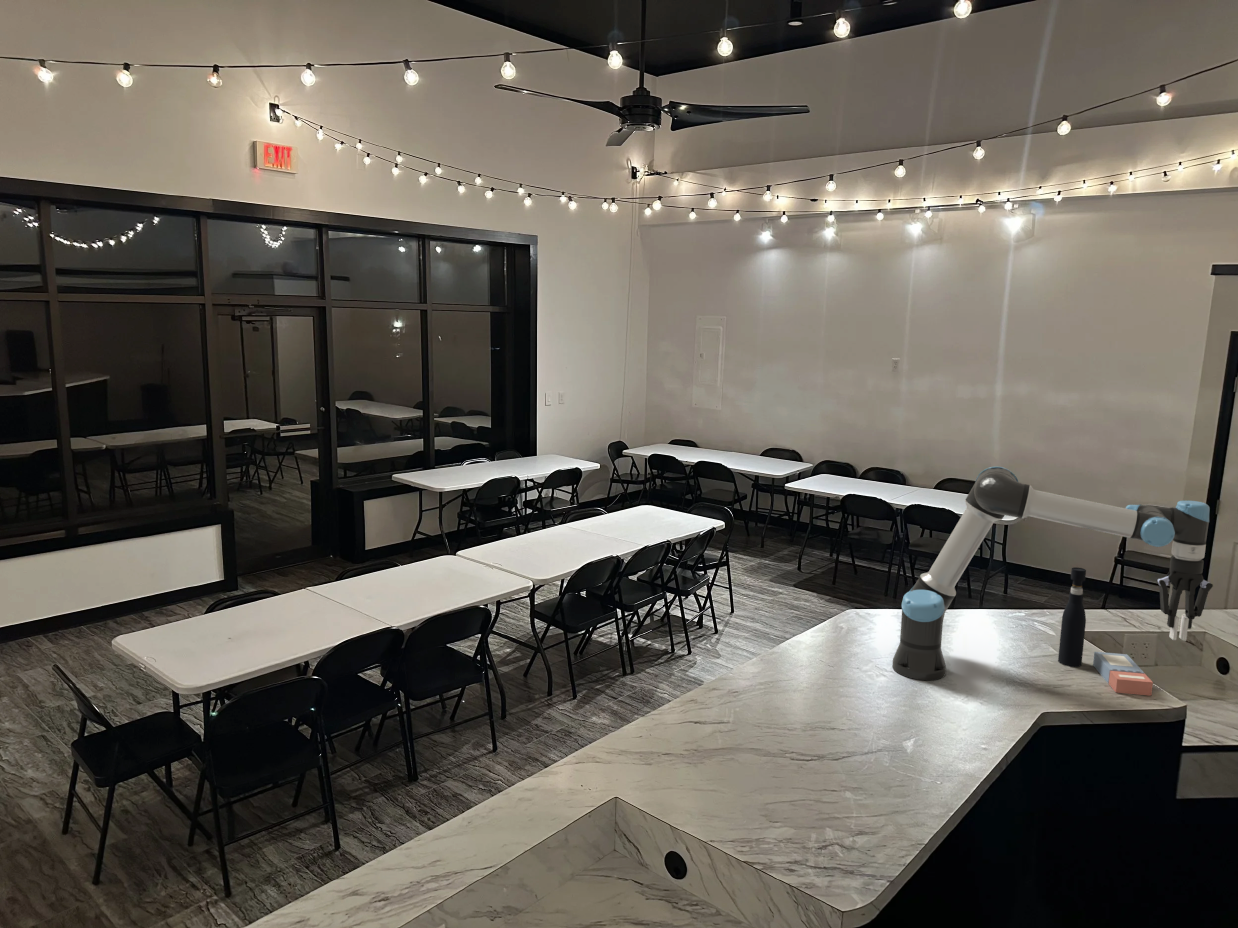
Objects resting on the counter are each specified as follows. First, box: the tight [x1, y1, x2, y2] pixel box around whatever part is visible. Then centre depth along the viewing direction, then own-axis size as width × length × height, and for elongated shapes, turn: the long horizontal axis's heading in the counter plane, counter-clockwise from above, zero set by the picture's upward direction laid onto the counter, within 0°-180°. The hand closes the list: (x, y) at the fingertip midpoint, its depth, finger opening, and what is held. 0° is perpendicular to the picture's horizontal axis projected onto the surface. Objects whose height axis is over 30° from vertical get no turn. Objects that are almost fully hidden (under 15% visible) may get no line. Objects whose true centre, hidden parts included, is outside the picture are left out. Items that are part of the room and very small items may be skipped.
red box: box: [1108, 671, 1154, 697], centre depth 235 cm, size 9×6×4 cm, turn 76°
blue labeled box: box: [1092, 651, 1145, 685], centre depth 245 cm, size 9×14×4 cm, turn 166°
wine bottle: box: [1057, 566, 1087, 668], centre depth 252 cm, size 6×6×30 cm
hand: (1177, 638), depth 230 cm, fingers open, 2 cm apart
